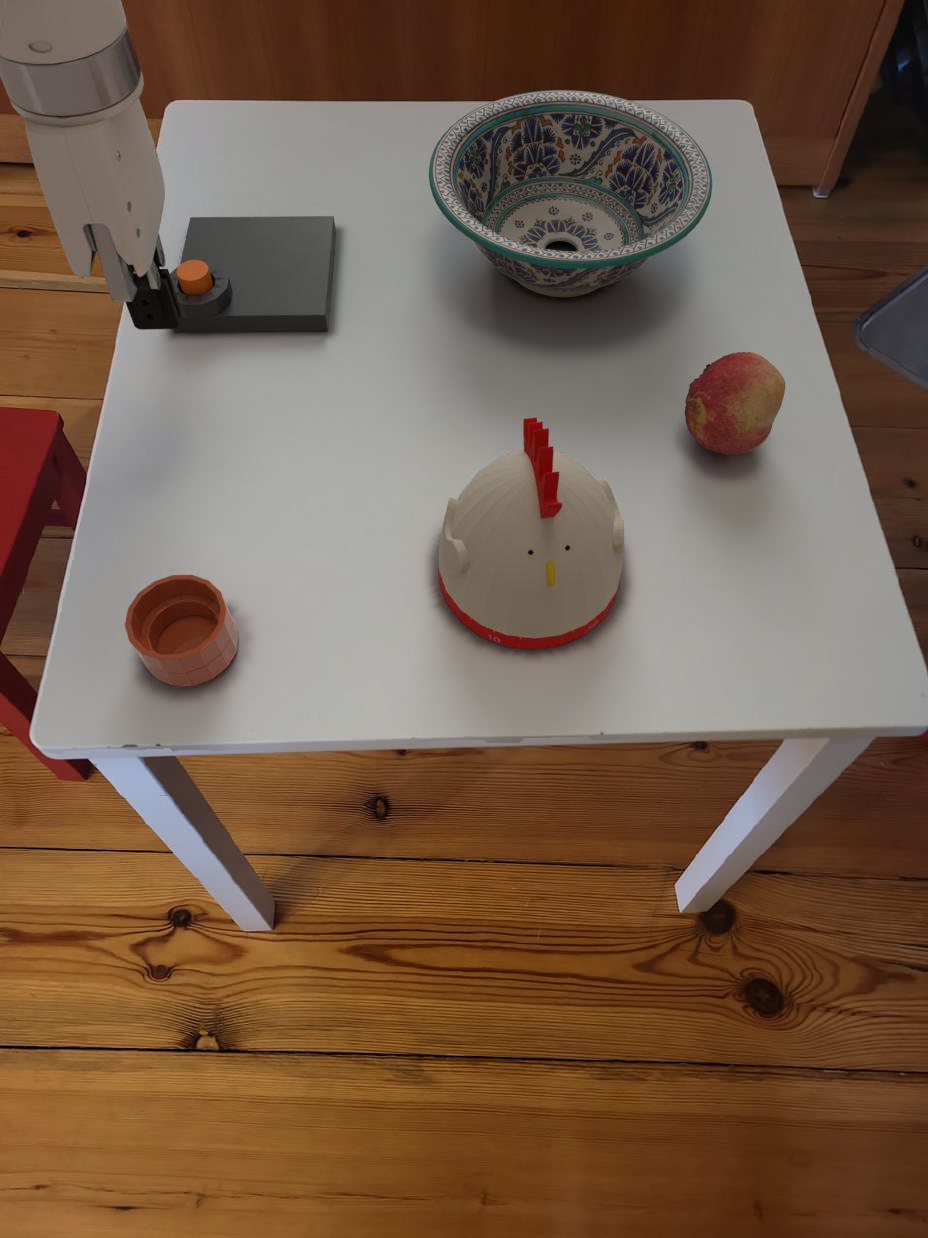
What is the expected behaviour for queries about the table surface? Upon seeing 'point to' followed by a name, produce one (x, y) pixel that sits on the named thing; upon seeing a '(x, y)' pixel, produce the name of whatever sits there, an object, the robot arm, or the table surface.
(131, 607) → the terracotta bowl
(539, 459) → the kitchen timer
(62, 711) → the table surface
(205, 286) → the button
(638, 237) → the bowl
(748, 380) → the fruit
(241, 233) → the scale
